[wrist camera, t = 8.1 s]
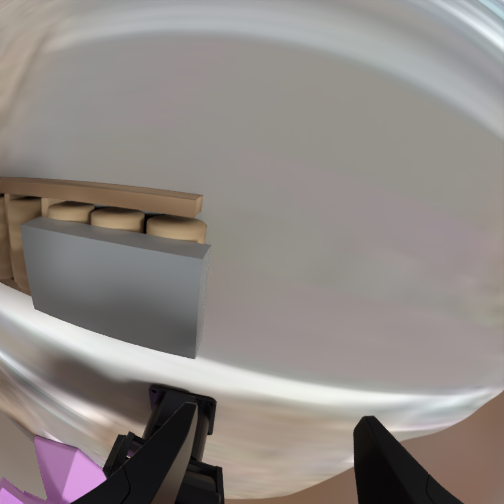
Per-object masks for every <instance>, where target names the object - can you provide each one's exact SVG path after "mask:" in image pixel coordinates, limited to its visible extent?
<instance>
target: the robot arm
mask: <svg viewBox="0 0 504 504" xmlns="http://www.w3.org/2000/svg"><path fill="white" fill-rule="evenodd" d="M149 394H150V401H151V408H152V413H151V416H150V418H149V421H148V423H147V426H146V428H145V431H144V433H143V436H142V438H140V437H138V436H136V435H135V434H134V433H132V432H130V431H129V433H128V435H127V436H126V435H119V434H118V437H117V439H116V441H115V443H114V445H113V448H112V450H111V452H110V454H109V456H108V459H107V461H106V463H105V465H104V468H103V470H102V471H103V473H104V475H105V477H106V480H105V481H104V482H102V483H101V484H100V485H98V486H97V487H95V488H94V489H92V490H91V491H89V492H88V493H86V494H84V495H83V496H81V497H80V498H78V499H76V500H75V501H73V502H71V503H70V504H224V488H223V474H222V467H219V466H212V465H209V464H206V463H203V462H202V457H203V452H204V447H205V442H206V437H207V435H212V433H213V426H214V418H215V411H216V404H217V402H216V400H214V399H212V398H206V397H201V396H197V395H192V394H188V393H183V392H179V391H175V390H171V389H167V388H163V387H159V386H156V385H151V386H150V388H149ZM353 437H354V470H355V478H356V486H357V495H358V503H359V504H464V503H462V502H461V501H460V500H458V499H457V498H456V497H455V496H453V495H452V494H451V493H449V492H448V491H447V490H446V489H445V488H443V487H442V486H441V485H440V484H439V483H438V482H437V481H436V480H435V479H434V478H433V477H432V476H431V475H430V474H428V472H427V471H426V470H425V469H424V468H423V467H422V466H421V465H420V464H419V463H418V462H417V461H416V460H415V459H414V458H413V457H412V455H411V454H410V453H409V452H408V451H407V450H406V449H405V448H404V447H403V446H402V445H401V444H400V443H399V442H398V441H397V440H396V439H395V438H394V437H393V435H392V434H391V433H390V432H389V431H388V430H387V429H386V428H385V427H384V426H383V425H382V424H381V423H380V422H379V421H378V419H377V418H376V417H374V416H364V417H362V418H361V420H360V421H359V423H358V424H357V425H356V427H355V429H354V432H353ZM127 456H129V457H130V458H128V457H127Z"/></svg>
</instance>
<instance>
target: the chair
mask: <svg viewBox="0 0 504 504" xmlns="http://www.w3.org/2000/svg"><path fill="white" fill-rule="evenodd" d="M34 444H35V449H36V454H37V459H38V464H39V468H40V473H41V476H42V480H43V484H44V488H45V491H46V494H47V500H46V501H45V500H43V499H41V498H38V497H36V496H34V495H32V494H30V493H28V492H26V491H24V493H23V492H22V491H20V490H19V489H18V488H17V487H15V486H14V485H12V484H11V483H10V482H9V481H7V480H6V479H5V478H4V477H3V478H2V480H1V481H0V504H70V503H71V502H73V501H75V500H76V499H78V498H80V497H81V496H83V495H84V494H86V493H88V492H89V491H91V490H92V489H94V488H95V487H97V486H98V485H100V484H101V483H102V482H104V481H105V480H106V477H105V475H104V473H103V471H102V470H103V468H101V467H100V466H99V465H98V464H96V463H95V462H94V461H93V460H92V459H90V458H89V457H88V456H87V455H86V454H84V453H83V452H82V451H81V450H80V449H79V448H75V447H72V446H68V445H65V444H61V443H58V442H55V441H52V440H49V439H46V438H43V437H40V436H37V435H36V436H35V438H34Z"/></svg>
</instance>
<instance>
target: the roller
mask: <svg viewBox="0 0 504 504" xmlns="http://www.w3.org/2000/svg"><path fill="white" fill-rule="evenodd" d="M41 198H43V197H36V196H26V197H20V198H16V199H13V200H11V201H9V202H8V203H7V208H8V223H9V233H10V242H11V250H12V256H13V263H14V268H15V274H16V279H17V284H18V286H19V288H21V289H23V290H27V291H30V287H29V282H28V277H27V271H26V265H25V259H24V252H23V244H22V235H21V224H23V223H26V222H28V221H30V220H33V219H35V218H38V217H42V203H41Z"/></svg>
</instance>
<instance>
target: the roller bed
mask: <svg viewBox="0 0 504 504" xmlns="http://www.w3.org/2000/svg"><path fill="white" fill-rule="evenodd" d="M0 193H5V194H0V282H1V283H3V284H5V285H7V286H9V287H12V288H14V289H16V290H18V291H20V292H23V293H25V294H27V295H30V296H31V292H30V291H27V290H23V289H21V288H19V286H18V284H17V279H16V274H15V268H14V263H13V256H12V250H11V242H10V233H9V223H8V208H7V203H8V202H9V201H11V200H13V199H16V198H20V197H26V196H36V197H43V198H41V203H42V217H46V218H52V219H58V220H64V221H70V222H76V223H82V224H88V225H94V226H100V227H106V228H112V229H118V230H124V231H130V232H136V233H142V234H144V216H145V214H144V212H142V211H140V210H144V211H150V212H157V213H164V214H170V215H161V216H155V217H152V218H150V219H148V220H147V232H146V234H148V235H154V236H160V237H165V238H172V239H178V240H184V241H190V242H196V243H202V244H205V235H206V227H207V225H206V224H205V223H204V222H203V221H201V220H198V219H195V218H194V217H195V216H196V215H197V214H198V213H199V212H201V208H202V200H203V195H198V194H191V193H184V192H176V191H169V190H161V189H153V188H144V187H135V186H126V185H117V184H106V183H96V182H84V181H71V180H57V179H40V178H19V177H0ZM67 200H70V201H73V202H67ZM92 203H93V204H101V205H108V206H115V207H110V208H103V209H98V210H96V211H94V205H93V204H92Z"/></svg>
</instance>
